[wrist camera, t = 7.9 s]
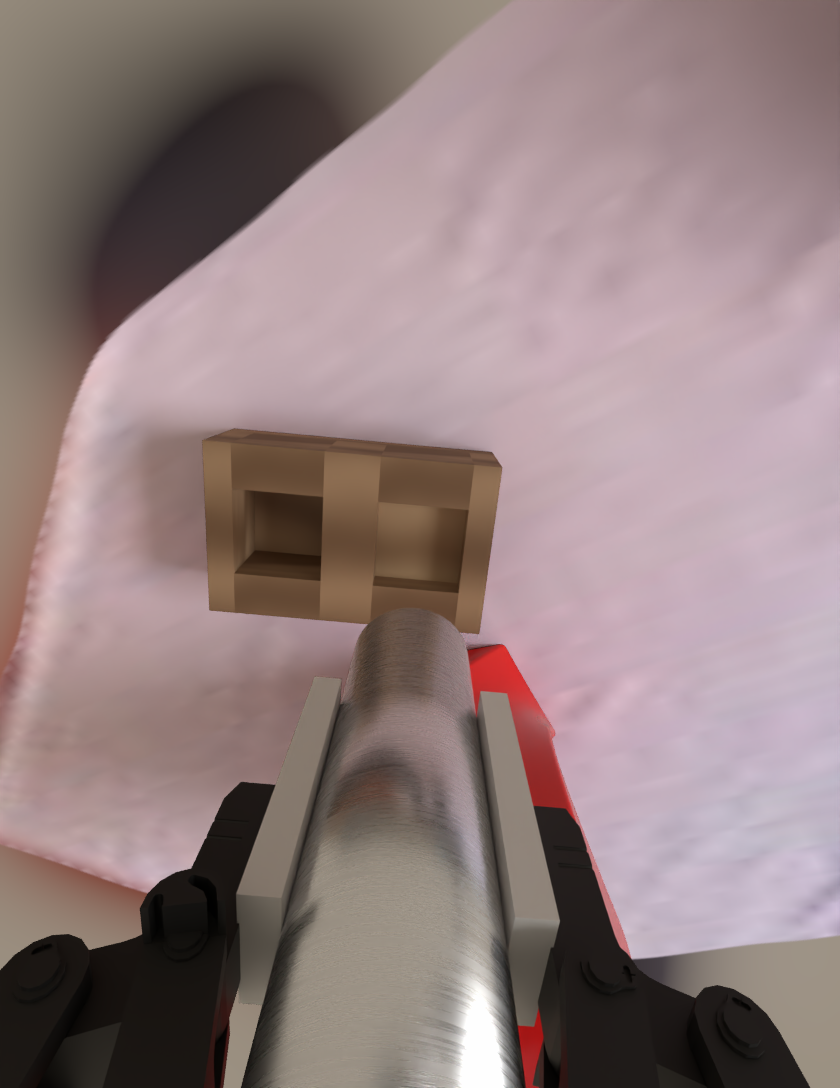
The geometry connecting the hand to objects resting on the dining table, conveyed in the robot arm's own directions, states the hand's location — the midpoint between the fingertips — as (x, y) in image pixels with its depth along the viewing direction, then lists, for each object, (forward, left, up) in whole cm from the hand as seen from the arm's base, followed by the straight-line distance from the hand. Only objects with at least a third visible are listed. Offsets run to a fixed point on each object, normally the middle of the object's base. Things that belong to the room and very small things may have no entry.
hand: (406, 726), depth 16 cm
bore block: (0, -4, -21) cm, 21 cm away
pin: (0, 0, -4) cm, 4 cm away
